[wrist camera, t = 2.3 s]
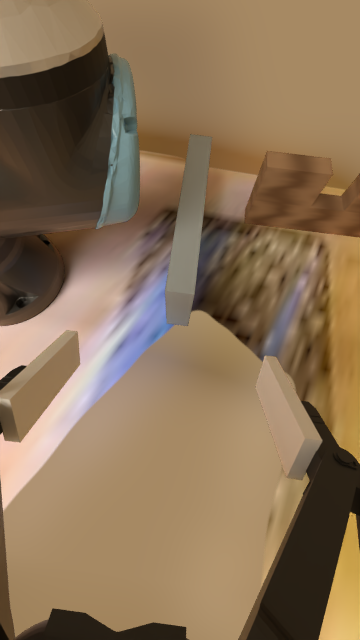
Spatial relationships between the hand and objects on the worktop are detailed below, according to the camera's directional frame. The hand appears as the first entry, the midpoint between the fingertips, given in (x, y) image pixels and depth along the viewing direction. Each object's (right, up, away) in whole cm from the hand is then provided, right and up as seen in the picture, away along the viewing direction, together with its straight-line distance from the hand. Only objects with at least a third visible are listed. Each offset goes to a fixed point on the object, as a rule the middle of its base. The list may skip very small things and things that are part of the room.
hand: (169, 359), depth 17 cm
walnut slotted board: (+23, +19, +24) cm, 38 cm away
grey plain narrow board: (+2, +13, +21) cm, 25 cm away
